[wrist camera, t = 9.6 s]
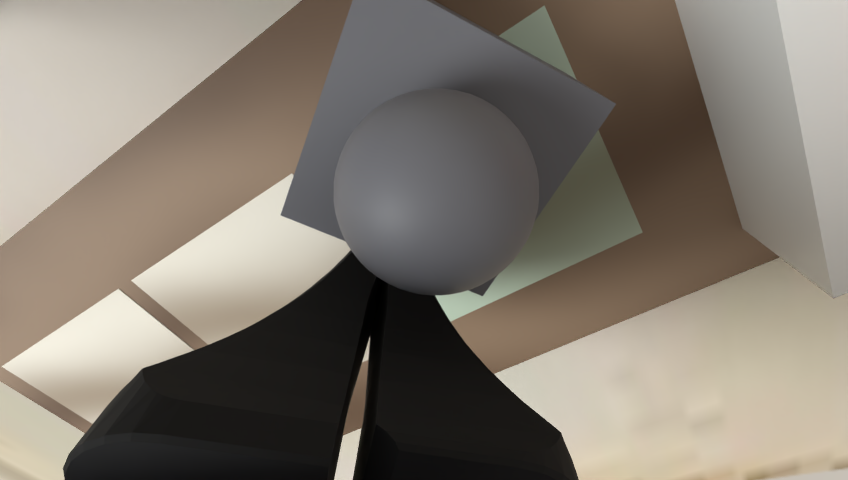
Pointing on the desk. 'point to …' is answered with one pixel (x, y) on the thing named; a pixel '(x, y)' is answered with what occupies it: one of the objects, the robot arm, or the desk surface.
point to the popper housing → (780, 122)
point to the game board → (319, 252)
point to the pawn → (437, 146)
